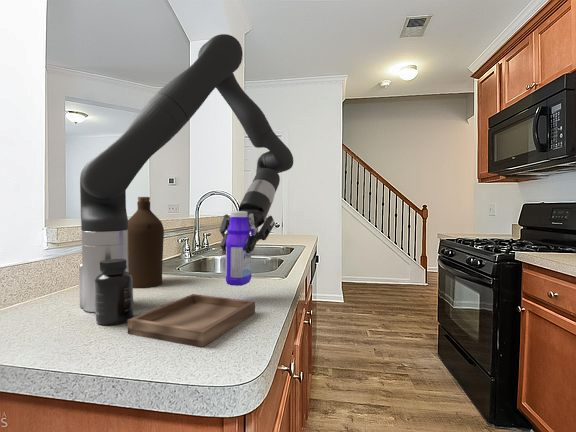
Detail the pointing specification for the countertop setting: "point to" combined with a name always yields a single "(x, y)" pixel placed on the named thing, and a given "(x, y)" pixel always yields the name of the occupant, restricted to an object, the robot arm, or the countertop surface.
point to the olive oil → (145, 246)
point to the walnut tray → (192, 319)
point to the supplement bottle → (113, 293)
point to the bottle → (238, 250)
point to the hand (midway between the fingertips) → (235, 250)
